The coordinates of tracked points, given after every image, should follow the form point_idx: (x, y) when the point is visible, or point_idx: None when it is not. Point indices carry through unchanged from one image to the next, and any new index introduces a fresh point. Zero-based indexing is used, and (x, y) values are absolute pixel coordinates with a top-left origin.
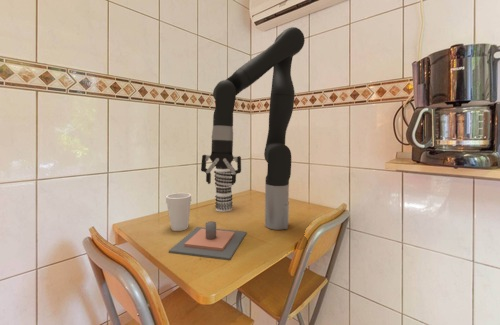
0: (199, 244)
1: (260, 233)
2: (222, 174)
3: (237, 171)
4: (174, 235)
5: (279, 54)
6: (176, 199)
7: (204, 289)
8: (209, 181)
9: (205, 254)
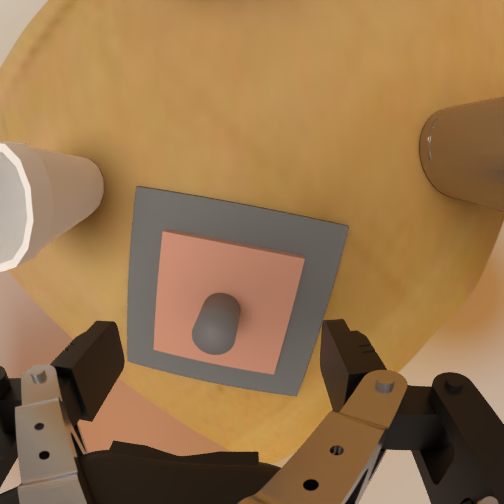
0: (198, 355)
1: (397, 226)
2: None
3: (413, 437)
4: (89, 254)
5: None
6: (8, 268)
7: None
8: (116, 376)
9: (229, 383)
